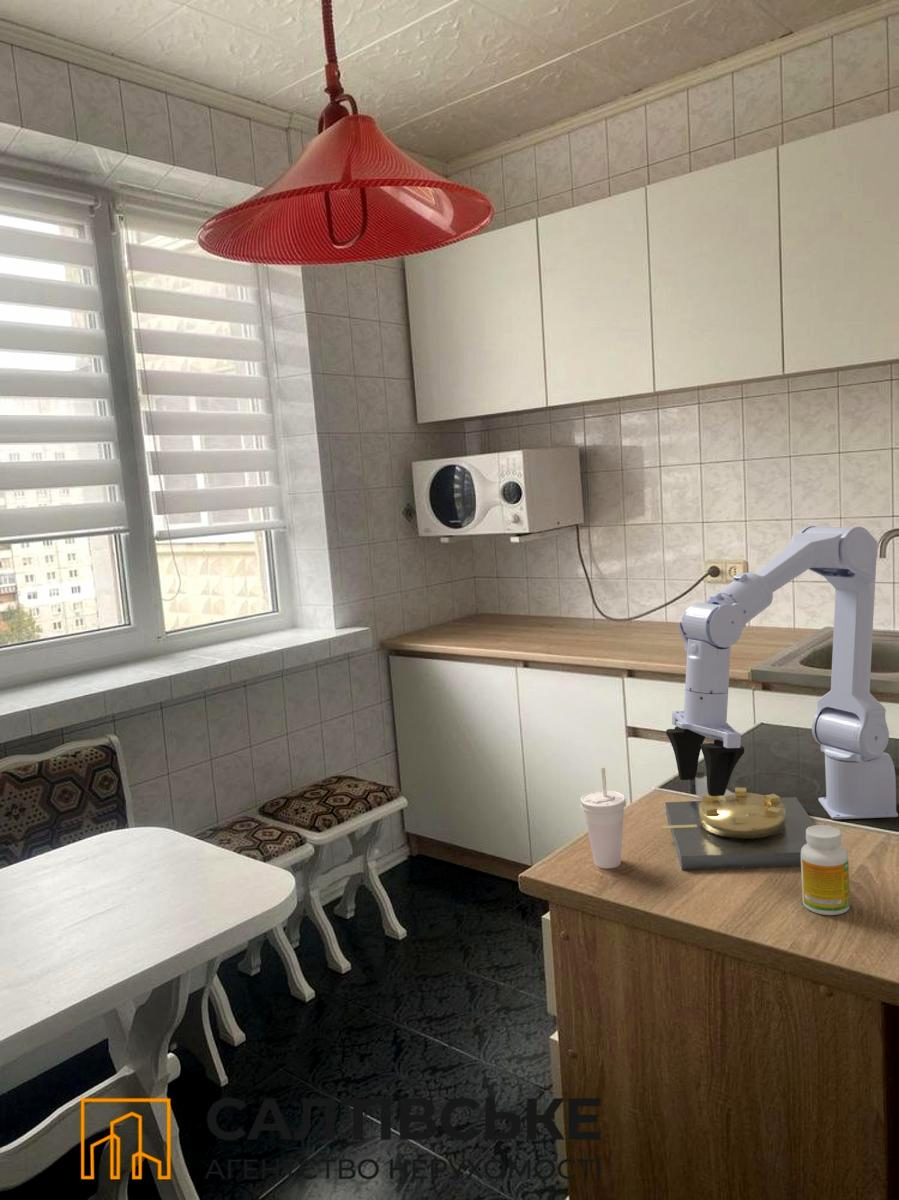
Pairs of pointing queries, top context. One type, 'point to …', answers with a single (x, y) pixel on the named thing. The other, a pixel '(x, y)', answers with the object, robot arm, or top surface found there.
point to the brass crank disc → (738, 811)
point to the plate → (736, 840)
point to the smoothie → (604, 824)
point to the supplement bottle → (824, 871)
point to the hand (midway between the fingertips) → (701, 787)
